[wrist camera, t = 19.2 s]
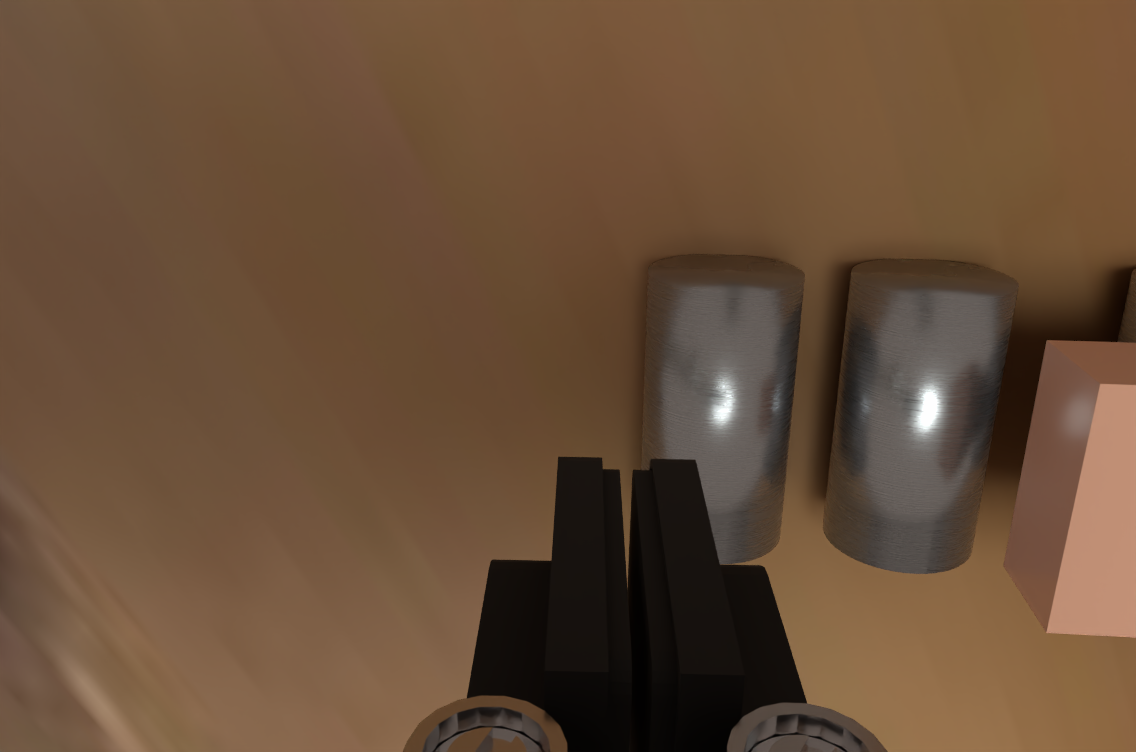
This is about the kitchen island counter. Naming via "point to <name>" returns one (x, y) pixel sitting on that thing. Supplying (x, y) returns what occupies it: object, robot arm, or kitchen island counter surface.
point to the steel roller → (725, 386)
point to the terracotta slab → (1079, 493)
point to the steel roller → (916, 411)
